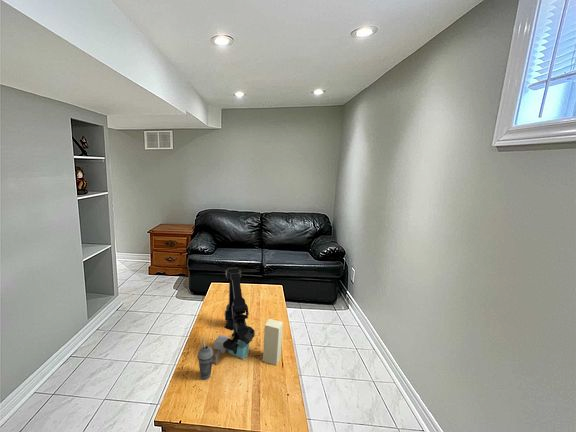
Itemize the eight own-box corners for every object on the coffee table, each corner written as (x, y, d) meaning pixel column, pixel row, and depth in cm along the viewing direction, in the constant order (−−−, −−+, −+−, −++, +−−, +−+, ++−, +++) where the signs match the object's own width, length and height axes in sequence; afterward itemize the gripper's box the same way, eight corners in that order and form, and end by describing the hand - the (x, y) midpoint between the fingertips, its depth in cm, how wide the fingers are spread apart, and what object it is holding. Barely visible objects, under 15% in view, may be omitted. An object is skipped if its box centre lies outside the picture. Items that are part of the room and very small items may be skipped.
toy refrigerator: (281, 356, 144) (283, 321, 140) (276, 365, 137) (278, 328, 134) (268, 352, 147) (269, 317, 143) (262, 361, 140) (264, 325, 136)
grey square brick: (213, 350, 146) (213, 341, 145) (219, 344, 152) (220, 334, 150) (223, 353, 144) (223, 343, 143) (229, 346, 150) (229, 337, 149)
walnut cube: (207, 363, 137) (207, 354, 136) (212, 356, 142) (212, 348, 141) (216, 365, 136) (216, 356, 135) (220, 358, 140) (220, 350, 140)
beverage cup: (204, 384, 123) (204, 346, 120) (194, 377, 127) (193, 339, 123) (216, 375, 129) (216, 337, 126) (206, 368, 133) (206, 332, 129)
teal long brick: (228, 352, 145) (228, 342, 144) (234, 347, 149) (234, 337, 148) (242, 359, 141) (243, 349, 139) (248, 353, 145) (248, 343, 144)
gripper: (240, 339, 130) (239, 367, 133) (261, 321, 146) (260, 346, 149) (222, 332, 135) (222, 359, 138) (245, 315, 151) (244, 339, 154)
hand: (238, 351), depth 145 cm, fingers closed on teal long brick, 5 cm apart
